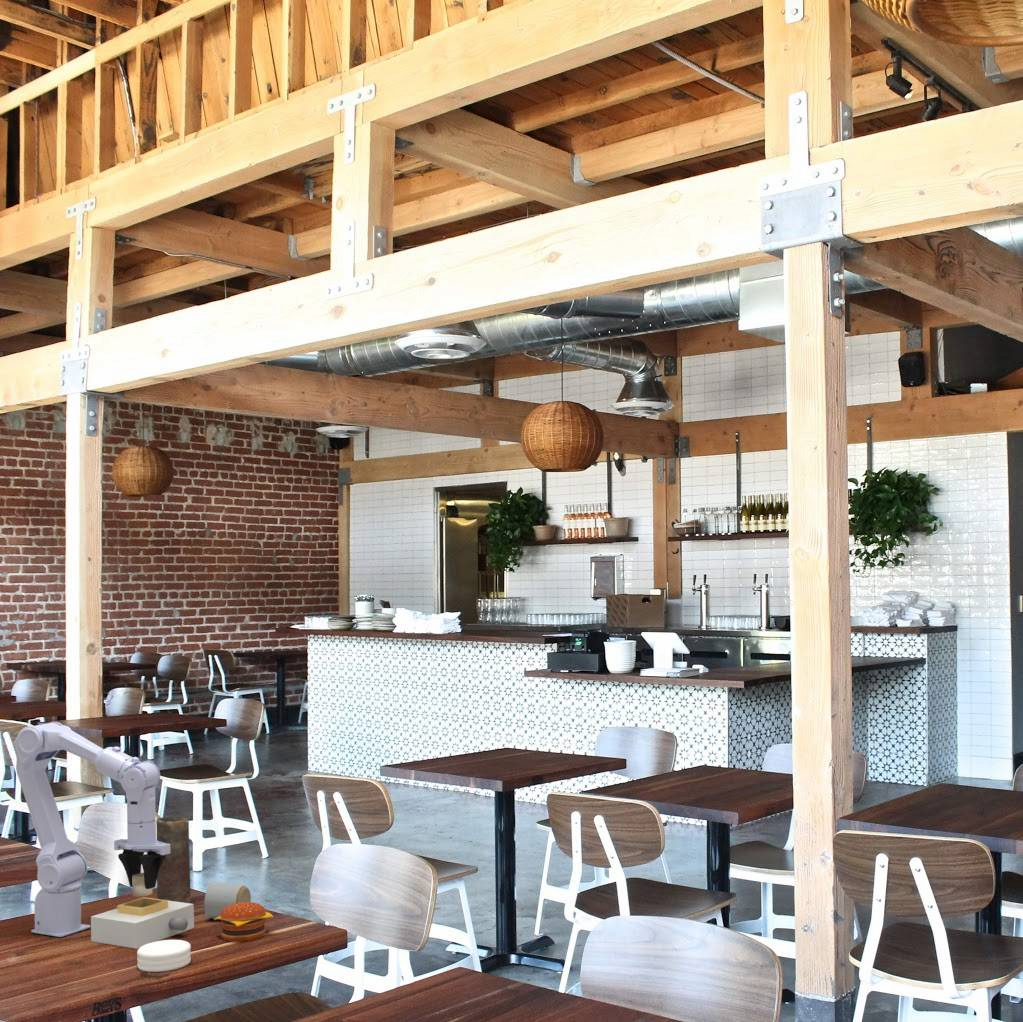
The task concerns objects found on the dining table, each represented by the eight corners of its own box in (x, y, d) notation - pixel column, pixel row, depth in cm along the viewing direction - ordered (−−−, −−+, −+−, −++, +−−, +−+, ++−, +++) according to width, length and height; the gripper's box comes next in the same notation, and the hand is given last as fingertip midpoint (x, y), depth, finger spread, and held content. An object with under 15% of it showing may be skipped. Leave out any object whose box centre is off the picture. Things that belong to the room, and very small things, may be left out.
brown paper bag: (165, 903, 281) (164, 814, 282) (196, 903, 280) (194, 814, 281) (151, 911, 274) (150, 821, 275) (182, 911, 272) (181, 821, 274)
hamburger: (247, 927, 258) (247, 895, 259) (275, 934, 252) (275, 902, 252) (210, 937, 251) (209, 904, 252) (238, 945, 245) (237, 911, 245)
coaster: (134, 962, 237) (133, 943, 237) (186, 954, 241) (186, 936, 241) (140, 976, 228) (140, 957, 228) (195, 967, 232) (194, 948, 232)
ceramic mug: (238, 923, 261) (238, 886, 262) (203, 922, 263) (202, 886, 264) (258, 910, 272) (258, 875, 272) (224, 910, 273) (224, 875, 274)
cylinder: (128, 895, 255) (128, 876, 255) (142, 891, 258) (142, 871, 259) (142, 897, 253) (141, 877, 253) (156, 892, 256) (156, 873, 257)
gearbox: (91, 941, 251) (90, 909, 252) (150, 921, 265) (149, 891, 266) (146, 950, 243) (146, 917, 244) (204, 929, 257) (203, 898, 258)
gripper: (102, 822, 257) (103, 888, 256) (151, 827, 249) (153, 894, 249) (128, 816, 263) (129, 880, 262) (177, 820, 256) (178, 886, 255)
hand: (142, 886), depth 256 cm, fingers closed on cylinder, 4 cm apart
